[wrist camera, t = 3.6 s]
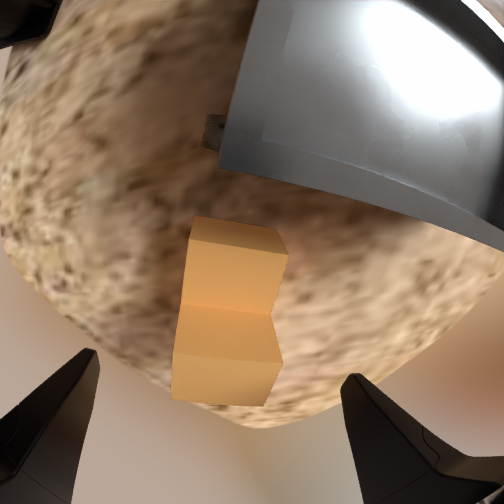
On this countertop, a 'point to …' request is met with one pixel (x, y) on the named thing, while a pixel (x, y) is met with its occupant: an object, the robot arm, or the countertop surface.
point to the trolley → (375, 107)
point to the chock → (228, 314)
